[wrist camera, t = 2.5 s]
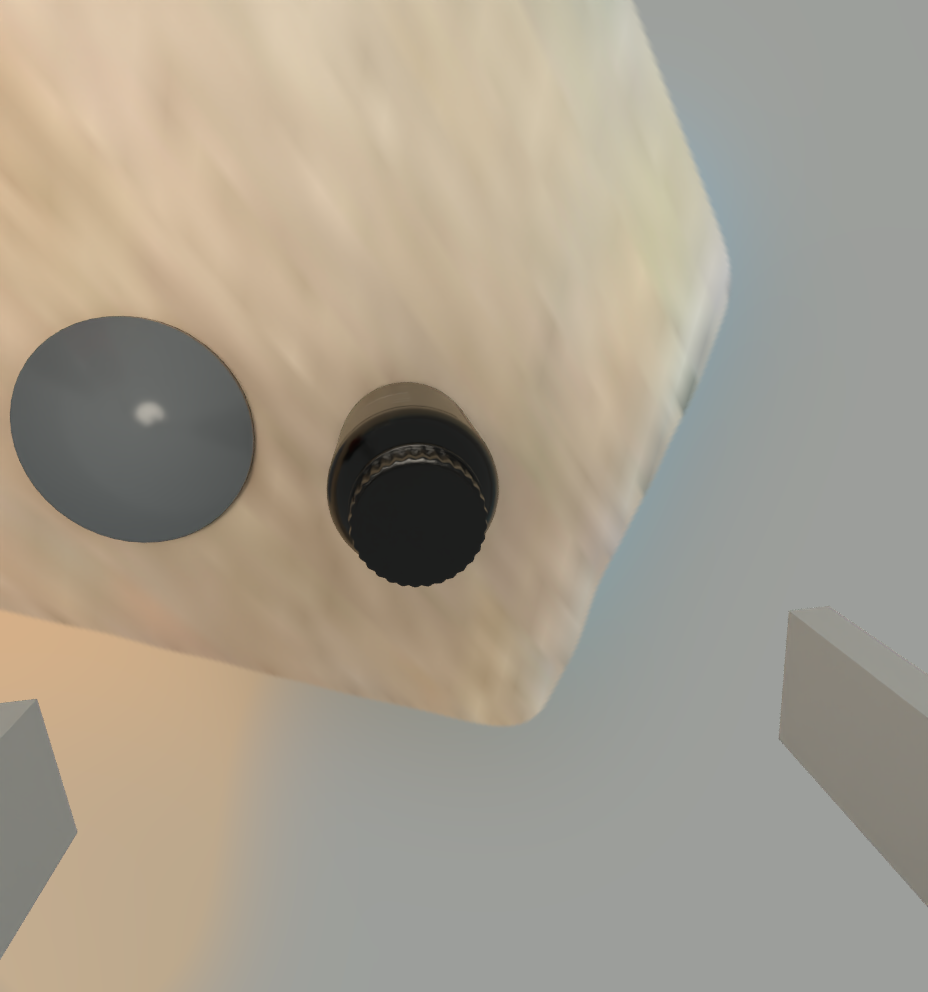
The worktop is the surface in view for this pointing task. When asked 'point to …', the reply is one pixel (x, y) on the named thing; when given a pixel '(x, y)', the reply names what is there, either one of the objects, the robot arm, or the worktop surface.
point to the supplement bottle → (412, 485)
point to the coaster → (132, 428)
